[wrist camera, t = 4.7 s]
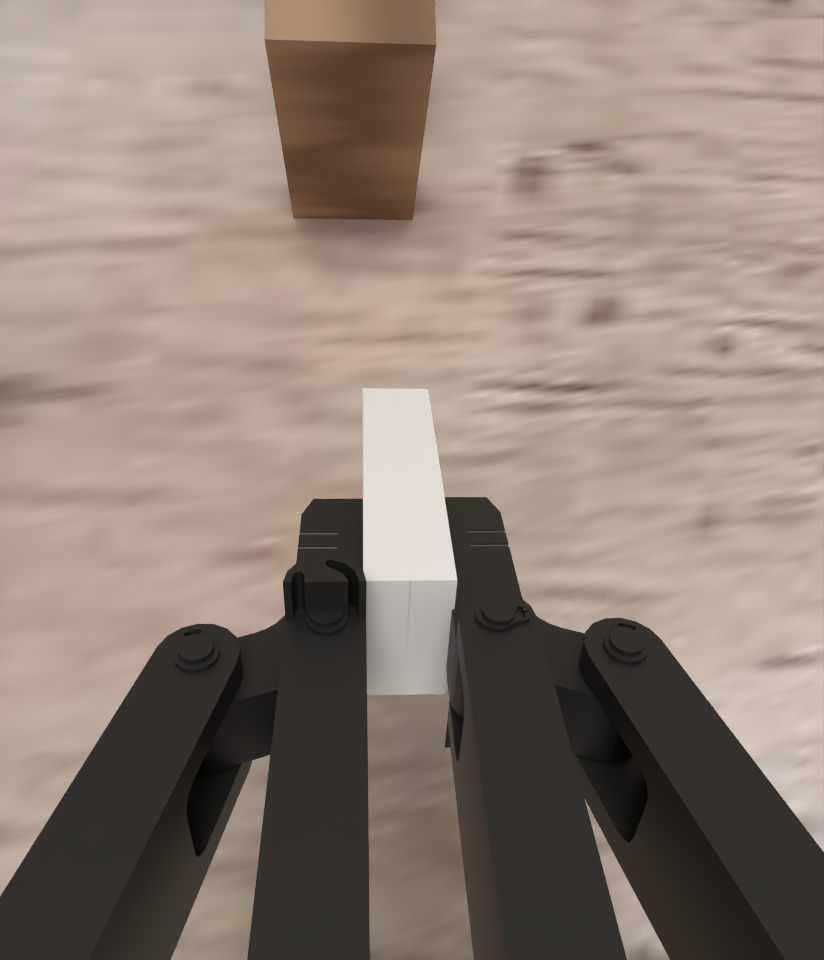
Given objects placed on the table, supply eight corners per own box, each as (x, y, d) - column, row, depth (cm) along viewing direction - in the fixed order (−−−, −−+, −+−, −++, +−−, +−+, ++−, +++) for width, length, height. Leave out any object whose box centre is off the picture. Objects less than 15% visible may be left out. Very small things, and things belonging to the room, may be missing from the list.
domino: (293, 217, 32) (264, 39, 22) (293, 178, 32) (265, -15, 22) (412, 219, 32) (436, 44, 22) (411, 180, 32) (434, -9, 23)
